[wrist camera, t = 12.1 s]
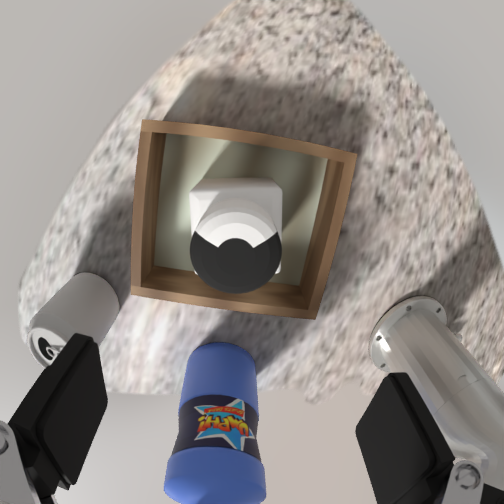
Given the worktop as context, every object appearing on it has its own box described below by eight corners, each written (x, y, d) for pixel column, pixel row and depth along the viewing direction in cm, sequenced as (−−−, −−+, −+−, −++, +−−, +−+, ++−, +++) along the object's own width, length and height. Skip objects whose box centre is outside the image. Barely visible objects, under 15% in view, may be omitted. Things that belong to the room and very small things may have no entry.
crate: (336, 151, 29) (357, 154, 24) (304, 291, 35) (315, 319, 29) (160, 122, 28) (142, 119, 22) (147, 269, 33) (130, 294, 28)
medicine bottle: (272, 246, 32) (289, 304, 21) (203, 247, 32) (184, 306, 20) (273, 176, 29) (293, 200, 18) (200, 178, 29) (174, 202, 18)
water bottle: (245, 397, 41) (251, 560, 17) (181, 383, 39) (153, 549, 16) (266, 350, 38) (288, 541, 14) (193, 333, 36) (159, 530, 13)
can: (67, 265, 33) (13, 314, 21) (120, 273, 33) (75, 331, 22) (74, 316, 35) (32, 373, 24) (123, 326, 36) (90, 391, 25)
